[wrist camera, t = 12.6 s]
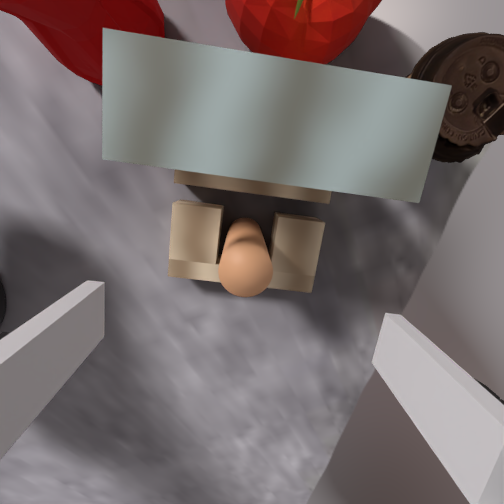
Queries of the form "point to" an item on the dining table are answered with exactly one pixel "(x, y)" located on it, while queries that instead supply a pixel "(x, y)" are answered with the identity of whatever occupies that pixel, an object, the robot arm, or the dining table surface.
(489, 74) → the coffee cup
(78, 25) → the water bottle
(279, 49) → the tomato
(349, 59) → the dining table surface
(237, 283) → the peg
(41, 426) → the dining table surface
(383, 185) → the socket awning
